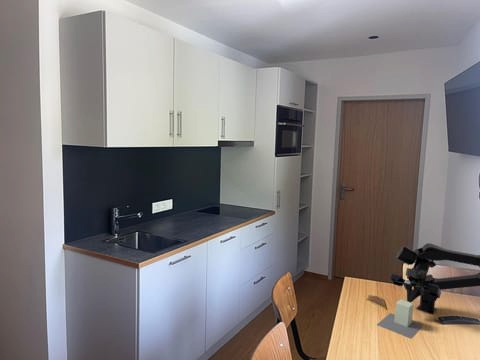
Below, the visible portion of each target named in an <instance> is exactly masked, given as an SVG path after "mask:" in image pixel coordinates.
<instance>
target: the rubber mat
mask: <svg viewBox="0 0 480 360" xmlns="http://www.w3.org/2000/svg"><path fill="white" fill-rule="evenodd" d="M394 318H395V313H392V312H390V313H388V314H387V315H386V316H385V317H384V318H382V319H381V320H380V321H379V322H378V323H376V326H377V327H381V328H383V329H386V330H388V331H391V332H393V333H396V334H398V335H401V336H403V337H406V338H408V339H411V340H412V339H413V338H414V337H415V336H416V335H417V333H418V332H419V331H420V330H421V329H422V328H423V327H424V326H425V325H424V324H422V323H420V322H417V321H414V320H412V323H411V324H410V325H409V326H408V327H406V326H403V325H401V324H398V323H395V322H394Z"/></svg>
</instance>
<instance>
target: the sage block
mask: <svg viewBox="0 0 480 360" xmlns="http://www.w3.org/2000/svg"><path fill="white" fill-rule="evenodd" d="M413 311H414V302H408V301H407V300H405V299H401V298H400V299H399V300H398V301H396V302H395V309H394V314H395V318H394V322H395V323H398V324H401V325H403V326H406V327H408V326H409V325H410V324H411V323H412V321H413V313H414V312H413Z"/></svg>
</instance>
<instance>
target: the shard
mask: <svg viewBox="0 0 480 360" xmlns="http://www.w3.org/2000/svg"><path fill="white" fill-rule="evenodd" d="M384 300H385V299H384V298H383V297H380V296H378V295H371V294H367V298H365V301H366V302H368V303H371V304H373V305H374V306H378V307H379V308H382V309H385V310H387V306H386V303H385V301H384Z"/></svg>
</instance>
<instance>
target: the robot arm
mask: <svg viewBox="0 0 480 360" xmlns="http://www.w3.org/2000/svg"><path fill="white" fill-rule="evenodd" d="M395 259H396V260H398V261H399V262H402V263H404V264H405V265H407V266H412V265H413V267H411V268H409V267H407V268H406V272H405V276H406V279H404V277H403V276H402V275H401V274H397V273H392V274H390V276H389V279H390V281H391V283H392V285H394V286H397V287H404V290H405V291H406V301H408V302H411V303H414V301H415V300H416V299H417V298H419V297H420V298H419V305H418V306H417V307H416V310H418V311H421V312H424V313H425V314H430V315H434V314H435V313H436V311H438V308H436V301H437V300H438V299H440V298H441V295H442V292H441V291H444V290H452V289H462V288H463V289H464V288H472V287H473V288H474V287H480V272H478V273H475V274H469V275H468V274H467V275H460V276H450V277H441V278H440V277H438V278H436V277H434V276H433V274H428V272H429V269H430V268H431V269H433V268H435V267H436V266H437V263H436V262H434V261H439V262H440V261H450V262H455V263H461V264H466V265H471V266H476V267H479V268H480V254H473V253H467V252H462V251H455V250H451V249H446V248H444V247H441V246H439V245H436V244H432V243H426V244H424V245H422V247H420V248H417V249H414V250H413V249H412V248H409V247H408V246H407V245H404V244H403V246H402V247H401V248H400V249H399V250H398V252H396V256H395Z"/></svg>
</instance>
